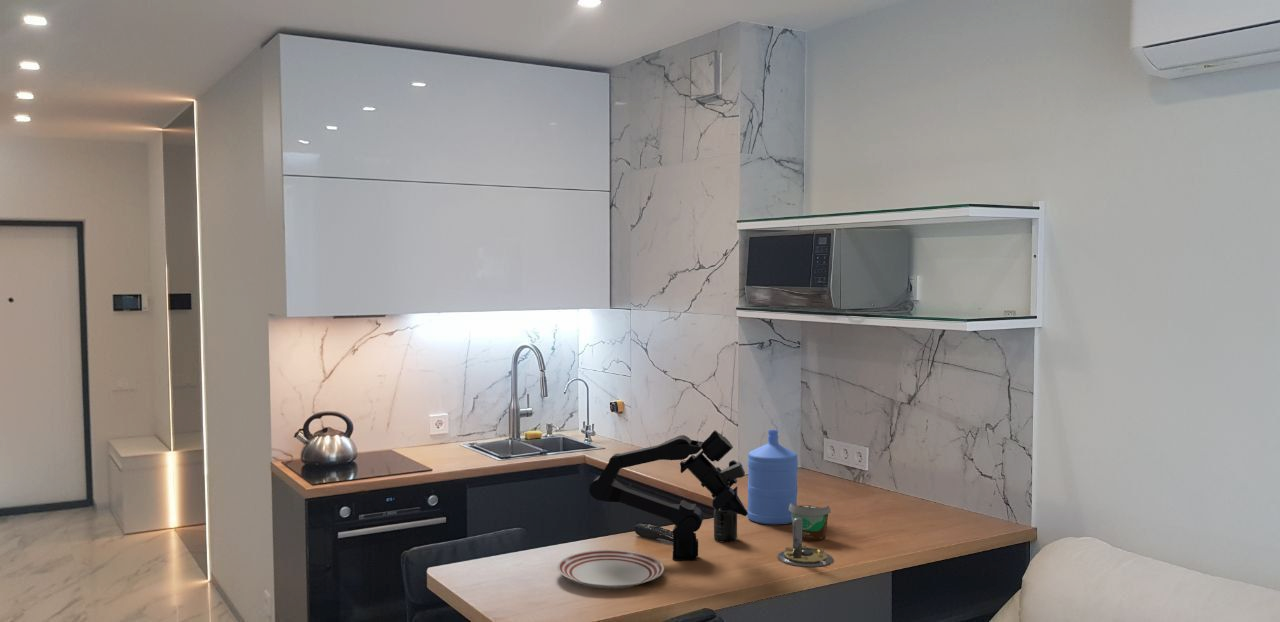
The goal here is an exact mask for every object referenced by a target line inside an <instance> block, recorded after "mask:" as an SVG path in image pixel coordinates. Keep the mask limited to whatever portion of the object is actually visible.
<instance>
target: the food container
mask: <svg viewBox="0 0 1280 622" xmlns="http://www.w3.org/2000/svg"><path fill="white" fill-rule="evenodd" d="M789 511H790V512H791V516H792V523H791V525H792V529H793V518H802V542H807V543H809V542H811V543H815V542H816V543H817V542H822V541H824V540H825V539H826V537H827V536H826V535H827V527H828V521H829V519H828V518H829V515H830V514H831V512H832V511H831V507H830V505H829V504H828V505H827V506H824V507H821V506H820V507H818V506H815V505H810V504H809V505H807V504H806V505H798V504H797V505H792V504H790V505H789Z"/></svg>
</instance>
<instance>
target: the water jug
mask: <svg viewBox="0 0 1280 622" xmlns="http://www.w3.org/2000/svg"><path fill="white" fill-rule="evenodd" d="M767 432H768V435H767V439H768V440H767V443H766V444H763V445H761V446H759V447H757V448H755V449H753V450H750V451H749V453H748V455H747V456H748V457H747V467H748V468H747V469H748V471H747V473H748V474H747V478H748V479H747V509H746V511H747V512H748V514H747V515H746V516H747V518H748V519H749V520H750V521H752V522H753V523H756V524H761V525H768V524H769V525H770V526H771V525H773V526H781V525H782V524H783V525H788V524H792V516H791V512H790V511H789V505H790V504H792V505H798V503H797V502H798V490H799V489H798V487H799V486H798V467H799V459H798V454H797V453H796V452H795V451H793V450H791V449H788V448H787V447H785V446H783V445H781V444H779V435H778V434H779V430H773V429H772V430H771V429H770V430H767Z"/></svg>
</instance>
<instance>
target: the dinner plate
mask: <svg viewBox="0 0 1280 622" xmlns="http://www.w3.org/2000/svg"><path fill="white" fill-rule="evenodd" d="M556 568H557V571H558V572H559V573H560V575H562V576H563V577H565V578H566V579H568V580H569V581H572V582H574V583H577V584H581V585H584V586H587V587H589V588H595V589H609V590H610V589H611V590H612V589H613V590H614V589H615V590H616V589H624V588H625V589H626V588H630V587H631V588H632V587H634V586H638V585H642V584H644V583H647V582H650V581H654V580H656V579H657V578H659V577H660V576H662V575H663V573H664V572H665V566H664V564H663V563H662V562H661V561H660V560H659V559H657V558H655V557H653V556H650V555H647V554H644V553H640V552H635V551H631V550H630V551H629V550H619V549H618V550H617V549H595V550H587V551H586V550H585V551H581V552H577V553H574V554H570V555H569V556H566V557H564V558H562V559H561V560H560V561H559V562H558V563H557V566H556Z"/></svg>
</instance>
